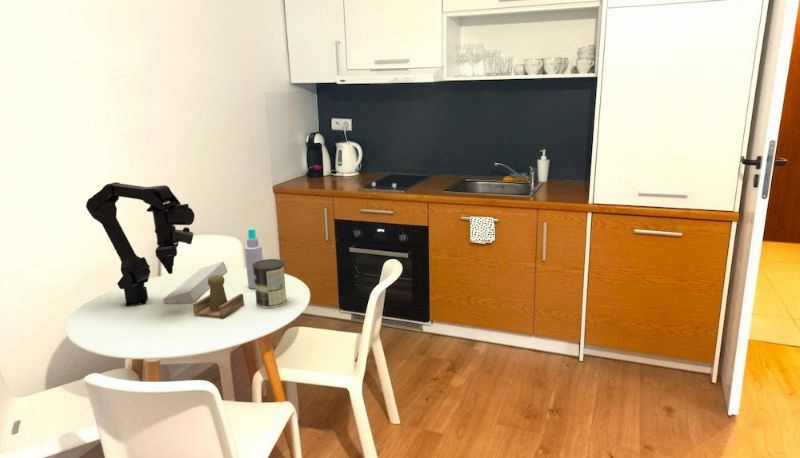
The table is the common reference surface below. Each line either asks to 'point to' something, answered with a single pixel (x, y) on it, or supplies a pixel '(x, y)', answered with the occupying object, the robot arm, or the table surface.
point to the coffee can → (269, 283)
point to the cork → (216, 292)
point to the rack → (224, 310)
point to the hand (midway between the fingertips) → (171, 269)
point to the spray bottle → (252, 255)
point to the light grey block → (195, 285)
